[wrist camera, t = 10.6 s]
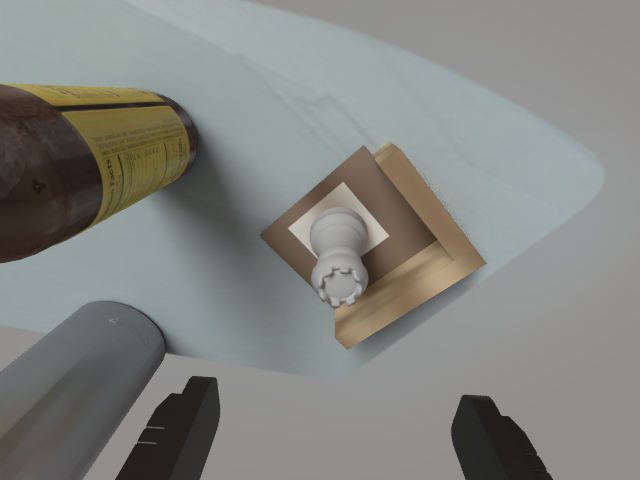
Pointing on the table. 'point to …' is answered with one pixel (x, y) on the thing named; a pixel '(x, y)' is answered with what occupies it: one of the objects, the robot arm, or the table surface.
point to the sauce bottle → (82, 158)
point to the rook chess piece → (339, 256)
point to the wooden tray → (381, 239)
